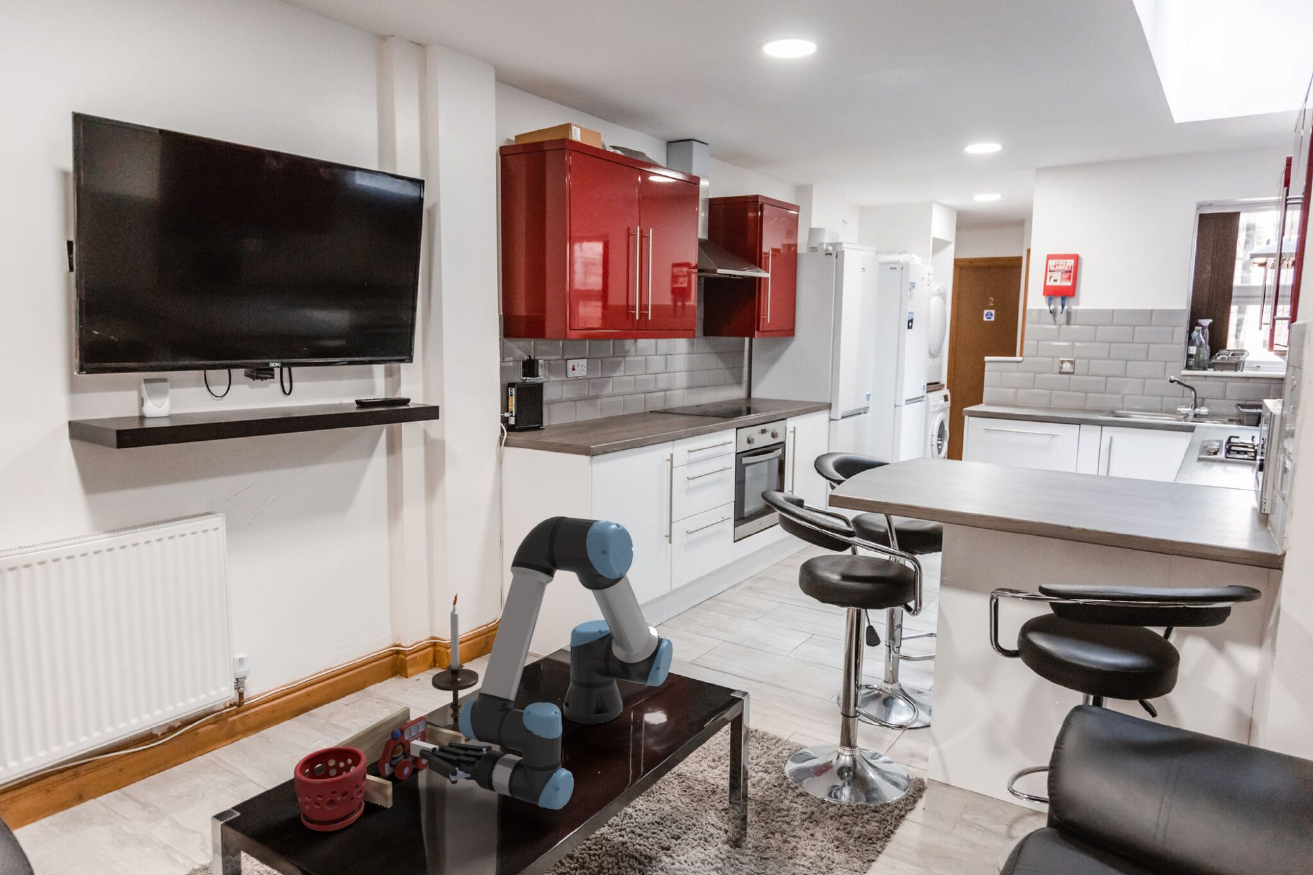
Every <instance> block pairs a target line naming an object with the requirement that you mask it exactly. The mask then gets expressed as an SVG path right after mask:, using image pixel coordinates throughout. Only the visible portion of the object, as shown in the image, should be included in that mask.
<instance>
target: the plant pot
mask: <svg viewBox="0 0 1313 875" xmlns="http://www.w3.org/2000/svg"><path fill="white" fill-rule="evenodd" d="M348 759H351V761H352V762H351V763H349V762H348ZM329 760H335V764H334V765H329V764H328V761H329ZM341 762H343V763H344V766H340V763H341ZM319 765H321V766H322V765H323V768H324V769H323V771H322V773H319V774H316V773H315V770H316V768H317V766H319ZM353 766H354V767H356V768H355V769H353V770H352V771H351V768H352V767H353ZM293 769H294V770H293V779H294V789H295V795H296V798H297V802H298V804H299V807H300V809H301V812H300V813H301V815H300V818H301V822H302V823H303V824H304V826H306V827H307V828H308V829H310V830H312V831H317V832H332V831H337V830H341V829H343V828H346V827H347V826H350V825H351V824H352V823H355V821H357V819H358V818H359V817H360V816H361V815H362V814H363V811H364V808H365V801H364V800H363V799H362V797H363V794H364V791H365V786H366V776H367V775H368V774H367V767H366V757H365V755H364V753H363V752H362V751H360V750H359V749H356V748H353V747H343V746H341V747H334V746H332V747H326V748H321V749H319V750H316V751H313V752H312V753H309V754H308V755H306V756H304V757H302V758H301V760H299V761H298V762H297V763H296V765H295V767H294V768H293ZM331 769H335V770H336V774H335V775H330V770H331ZM307 771H308V773H307ZM343 772H346V773H347V774H344V775H343ZM306 773H307V774H306ZM366 774H367V775H366Z"/></svg>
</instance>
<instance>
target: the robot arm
mask: <svg viewBox="0 0 1313 875" xmlns="http://www.w3.org/2000/svg"><path fill="white" fill-rule="evenodd" d="M633 547H634V544H633V539H632V536H631V535H630V532H629V530H628V529H627V528H626V527H625V526H623V525H622V524H621V523H618V522H612V521H609V520H606V519H605V520H603V519H601V520H598V519H587V518H580V517H579V518H578V517H577V518H576V517H568V516H563V515H559V516H552V517H549V518H547V519H544V520H542V521H540V522H539V523H538V524H537V525H535V526H534V527H533V528H532V529H531V530H530V531H529V532H528V533H527V534H526V536H525V537H524V538H523V539H522V541H521V543H520V545H519V546H518V547H517V549H516V551H515V554H514V556H513V559H512V563H511V565H510V572H511V574H512V579H511V583H510V585H509V589H508V592H507V595H506V599H505V603H504V606H503V610H502V614H501V617H500V621H499V624H498V627H497V631H496V635H495V638H494V641H493V645H492V649H491V652H490V656H489V658H488V662H487V666H486V667H485V668H486V669H485V672H484V676H483V680H482V682H481V685H480V689H479V692H478V695H477V699H470V700H468V701H467V702H466V703H465V704H464V706H463V708H462V709H461V710H460V711H459V713H460V716H459V729H460V731H461V733H462V734H463V735H464V736H466V737H468V738H471V740H474V741H477V742H478V743H479V742H480V743H486V744H492V745H495V746H499V747H503V748H507V749H511V750H515V751H518V752H521V753H522V757H521V756H518V755H514V754H512V753H510V754H509V753H506V752H502V751H499V750H495V749H493V746H492V745H477V744H468V743H467V744H466V743H465V744H461V743H453V742H450V743H448V746H445V745H442V746H437V745H434V744H428V743H425V742H421V741H418V740H414V741H412V742H410V752H411V755H414V756H417V757H420V758H422V759H425V760H428V765H427V767H428V768H427V769H429V770H431V771H433V772H435V773H437V774H438V775H440V776H441V777H444V778H446V779H447V780H448V781H449V782H450V784H452V785H456V784H457V783H458V780H461V779H464V780H467V781H475V783H476V784H477V785H478V787H480V788H481V789H484V790H487V791H490V792H493V793H495V792H496V793H498V794H501V795H505V796H509V797H512V798H514V799H518V800H521V801H523V802H527V803H530V804H533V805H536V806H538V807H539V808H547V809H551V810H552V809H553V810H560V809H562V808H564V806H566V805H567V803H569V801H570V799H571V797H572V794H573V790H574V784H575V783H574V777H573V773H572V772H571V771H569V770H567V769H566V768H563V767H562V758H561V755H562V732H563V725H562V712H561V709H560V708H559V706H557V705H556V704H554V703H552V702H533V703H530V704H529V705H527V706H526V707H525V708H524V709H523V710H522V709H517V708H514V705H515V701H516V696H517V694H518V693H517V692H518V689H519V685H520V682H521V679H522V675H523V671H524V668H525V664H526V660H527V657H528V654H529V650H530V648H531V647H530V646H531V644H532V639H533V635H534V632H535V628H536V625H537V621H538V618H539V614H540V610H541V607H542V603H543V600H544V596H545V592H546V589H547V586H548V584H550V583H552V582H553V581H554V577H555V574H556V573H557V571H564V572H569V573H570V572H571V573H574V574H575V576H576V577H577V579H578V581H579V583H580V585H582V587H583V588H585V589H587V590H589V591H591V592H592V595H593V597H594V599H595V601H596V603H597V606H598V608H599V609H600V612H601V615H602V616H603V618H604V619H597V620H589V621H586V622H583V623H579V624H578V625H576V626H574V628H572V630H571V632H570V642H569V648H570V652H569V653H570V654H569V655H570V658H569V659H570V660H569V664H570V665H569V666H570V680H569V681H570V682H569V686H568V689H567V692H566V696H565V698H564V702H563V715H564V718H566V717H567V718H566V719H568V720H569V721H572V722H573V721H574V723H576V722H577V724H581V723H585V724H584V725H597V724H596V723H602V724H605V723H604V722H607V721H610V720H612V719H614V718H616V717H618V716H619V715H620V713H621V712H622V713H623V700H622V697H621V694H620V691H619V687H618V684H617V680H621V681H626V682H631V683H636V684H640V685H641V684H642V685H645V686H646V687H648V686H653V687H659V686H661V685H662V684H663V683H665V681H666V678H667V677H668V675H669V672H670V670H671V669H670V668H671V665H672V659H673V654H674V653H673V651H674V650H673V649H674V648H673V647H674V646H673V642H672V641H671V639H668V638H666V637H660V636H659V633H658V632H657V630H656V629H655V626H653V625H652V624H650V623H648V622H647V621H646V619H645V616H644V613H643V611H642V609H641V607H640V604H639V602H638V599H637V598H636V595H635V594H636V593H635V592H634V589H633V588H632V585H631V582H630V581H629V578H628V575H627V574H628V572H629V570H630V568H631V566H632V563H633V559H634V551H633ZM620 716H621V715H620ZM618 718H619V717H618ZM610 722H611V721H610ZM607 723H608V722H607Z"/></svg>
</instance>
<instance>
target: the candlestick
mask: <svg viewBox="0 0 1313 875" xmlns="http://www.w3.org/2000/svg"><path fill="white" fill-rule="evenodd" d="M457 600H458V593H456V594H455V595H454V599H453V601H452V611H450V616H449V618H450V664H448V665H447V666H446V670H442V671H440V672H437V673H436V674H434V675H433V676H432V677H431V685H432V688H435V689H437V690H439V691H444V692H452V702H451V703H450V704H449V709H450V710H451V711H452V712H451V713H450V718H452V723H450V724H446V725H443V726H442V727H441V728H443V729H447V730H451V731H455V732H458V733H461V731H460V729H459V716H460V709H461V707H463V706H462V705H463V703H462V702H460V701H459V691H464V690H467V689H470V688H473V687H474V686H476V685H477V684H478V683H479V673H478V672H477V671H475V670H472V669H468V668H464V667H465V666H464V665H463V664H462V663H460V635H459V634H460V631H459V630H460V629H459V628H460V624H459V623H460V621H459V619H460V618H459V616H460V615H459V614H460V613H459V611H458V610H457V607H456V605H457V602H458V601H457ZM470 740H472V739H471V738H468V737H466V736H465V743H467V742H469V741H470Z"/></svg>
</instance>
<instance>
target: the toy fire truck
mask: <svg viewBox="0 0 1313 875" xmlns="http://www.w3.org/2000/svg"><path fill="white" fill-rule="evenodd" d="M412 720H413V721H411V722H409V723H407V724H405V725H403V726H402V727H400V728H399V730H397V729H395V730H393V731H392V732H391V739H389V740H387V742H386V744H385V747H384V750H383V753H382V756H381V757H380V759H379V760H377V768H378V771H379V772H380V774H381V775H382V776H383V777H388V776H390V775H392V774H394V776H395V777H396V778H397V779H398V780H406V779H408V778H409V777H410V775H412V772H413V767H414V768H415V769H417V770H420V771H421V770H424V769H426V768H427V767H428V760H425V759H422V758H420V757H417V756H414V755H411V752H410V742H412V741H414V740H418V741H421V742H425V743H426V733H425V731H426V728H427V724H428V718H427V717H425V716H419V717H417V718H415V719H412Z"/></svg>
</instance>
